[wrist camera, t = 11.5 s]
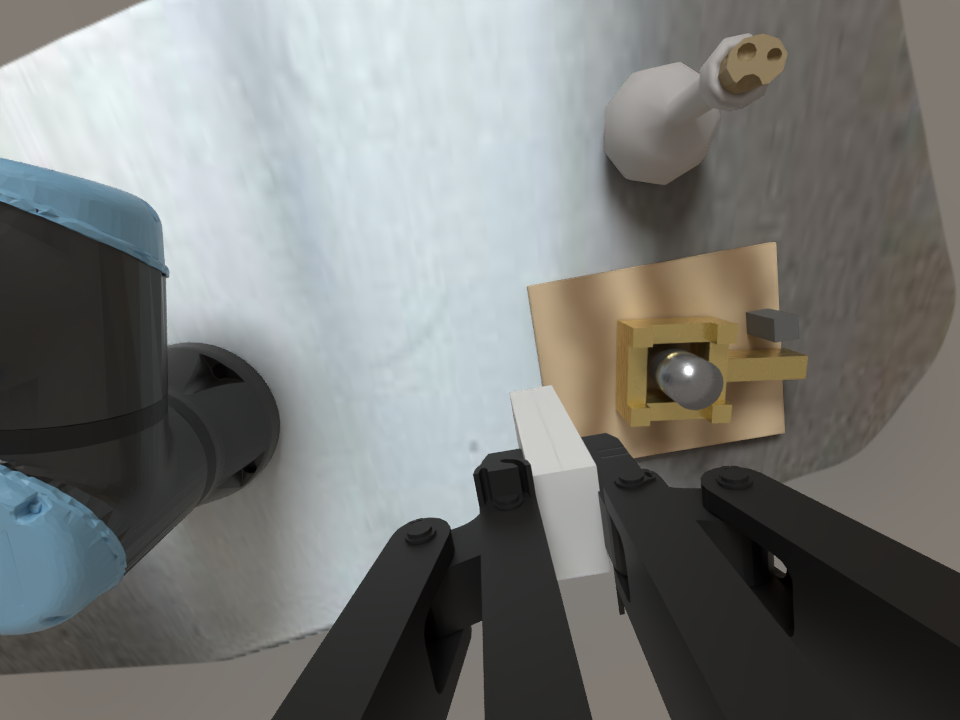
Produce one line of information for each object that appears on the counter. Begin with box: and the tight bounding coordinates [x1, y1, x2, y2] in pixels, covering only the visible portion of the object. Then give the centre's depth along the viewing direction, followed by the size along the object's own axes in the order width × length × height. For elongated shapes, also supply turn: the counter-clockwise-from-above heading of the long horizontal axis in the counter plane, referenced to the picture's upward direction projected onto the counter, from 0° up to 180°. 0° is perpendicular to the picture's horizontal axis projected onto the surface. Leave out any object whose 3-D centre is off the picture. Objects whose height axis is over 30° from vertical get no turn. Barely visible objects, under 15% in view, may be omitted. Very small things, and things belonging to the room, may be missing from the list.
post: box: [647, 343, 723, 410], centre depth 43 cm, size 4×4×9 cm
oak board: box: [527, 242, 785, 458], centre depth 47 cm, size 22×18×1 cm
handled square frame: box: [616, 316, 808, 427], centre depth 43 cm, size 15×8×5 cm, turn 92°
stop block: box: [746, 308, 799, 343], centre depth 43 cm, size 2×2×4 cm
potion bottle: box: [604, 33, 787, 185], centre depth 34 cm, size 9×9×18 cm
